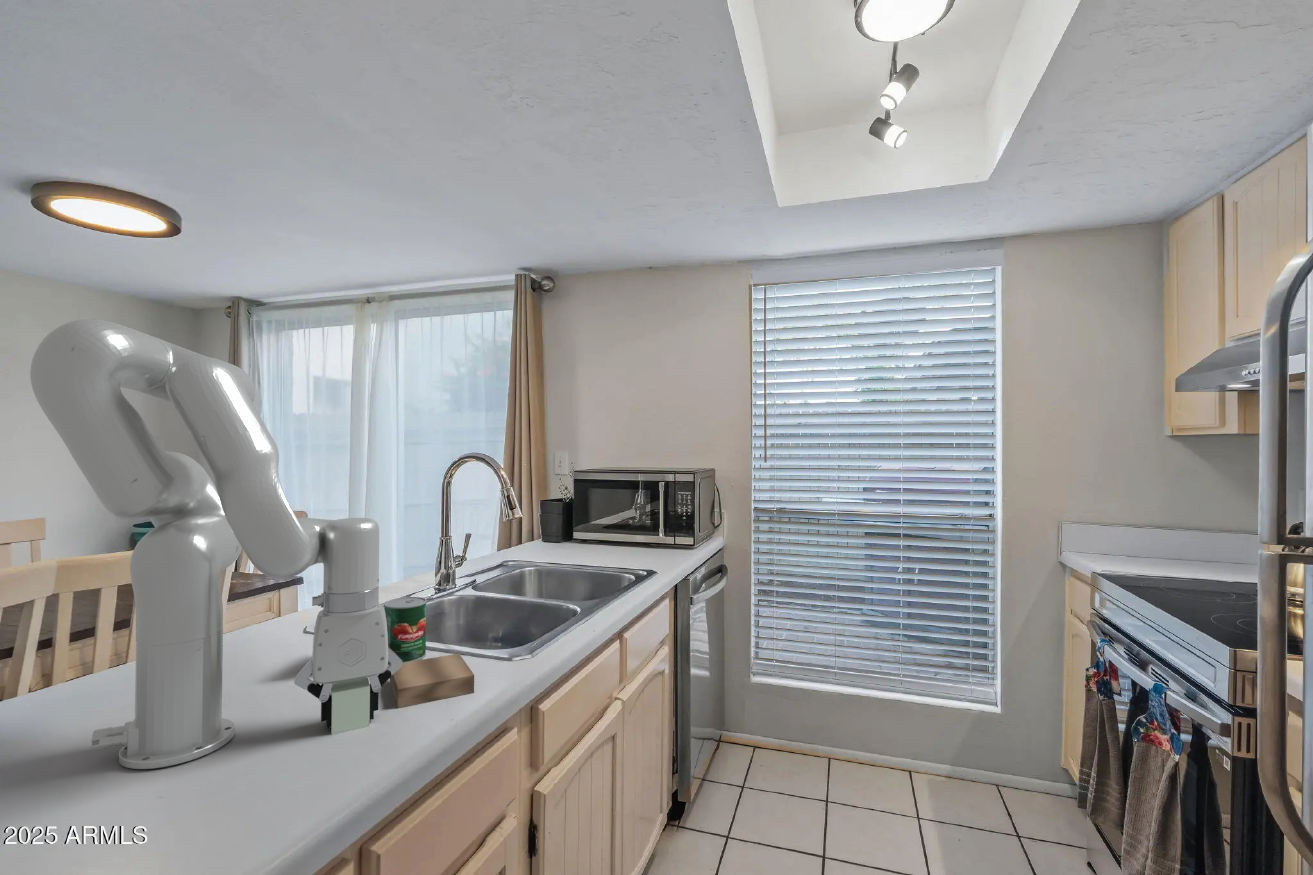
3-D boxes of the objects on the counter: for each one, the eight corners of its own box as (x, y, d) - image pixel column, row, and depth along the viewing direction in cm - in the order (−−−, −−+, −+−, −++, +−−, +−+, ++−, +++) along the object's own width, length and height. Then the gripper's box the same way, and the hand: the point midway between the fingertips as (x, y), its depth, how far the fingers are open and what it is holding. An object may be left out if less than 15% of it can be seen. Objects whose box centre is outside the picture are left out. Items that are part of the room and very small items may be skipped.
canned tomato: (406, 666, 113) (407, 608, 113) (373, 661, 115) (374, 605, 115) (434, 652, 120) (435, 598, 120) (403, 648, 123) (403, 595, 123)
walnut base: (398, 707, 95) (398, 689, 95) (389, 681, 105) (389, 664, 105) (474, 692, 101) (474, 674, 101) (459, 669, 111) (459, 653, 111)
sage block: (331, 734, 86) (332, 693, 86) (330, 720, 91) (331, 681, 91) (369, 726, 89) (369, 686, 89) (366, 713, 93) (367, 675, 93)
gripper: (284, 614, 82) (282, 745, 82) (414, 598, 91) (413, 717, 91) (286, 601, 89) (284, 723, 89) (408, 588, 97) (406, 699, 97)
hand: (350, 718), depth 90 cm, fingers closed on sage block, 5 cm apart
